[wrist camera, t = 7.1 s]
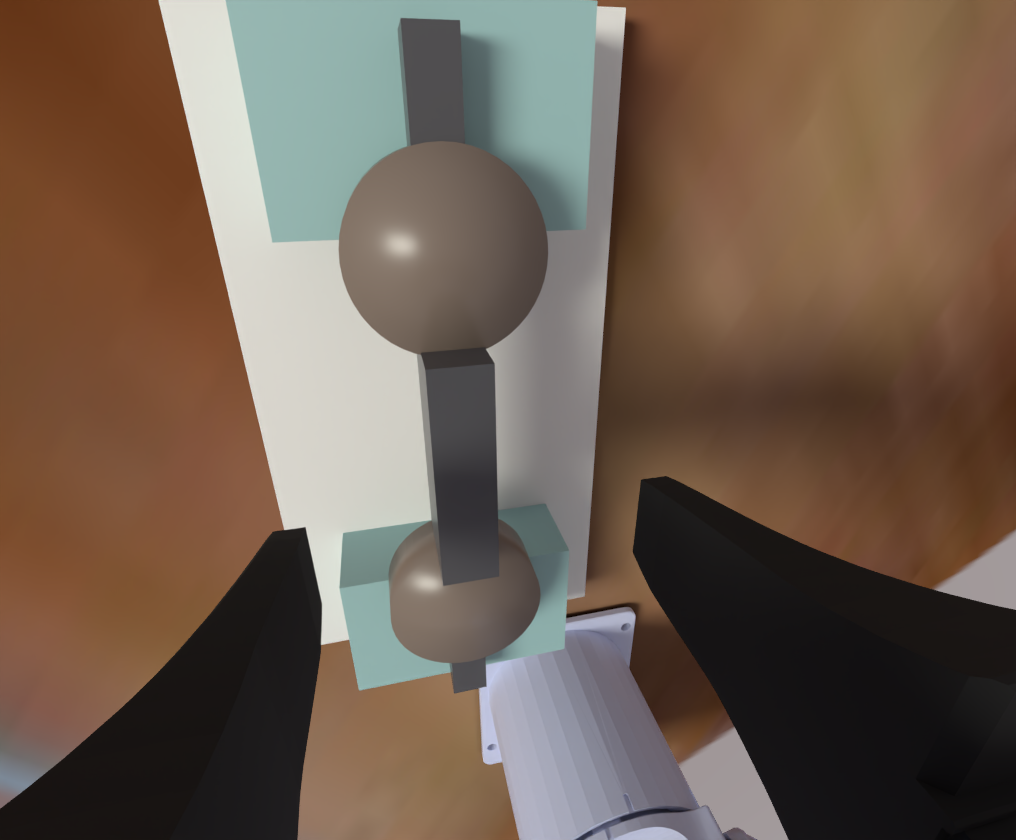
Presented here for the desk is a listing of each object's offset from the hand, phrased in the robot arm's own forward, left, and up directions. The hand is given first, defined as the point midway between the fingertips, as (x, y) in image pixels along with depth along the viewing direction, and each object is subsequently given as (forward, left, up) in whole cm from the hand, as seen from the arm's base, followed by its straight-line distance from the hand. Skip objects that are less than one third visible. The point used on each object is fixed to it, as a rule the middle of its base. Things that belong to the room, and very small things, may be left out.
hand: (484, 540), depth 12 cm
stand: (0, 0, -9) cm, 9 cm away
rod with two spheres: (0, 0, -5) cm, 5 cm away
